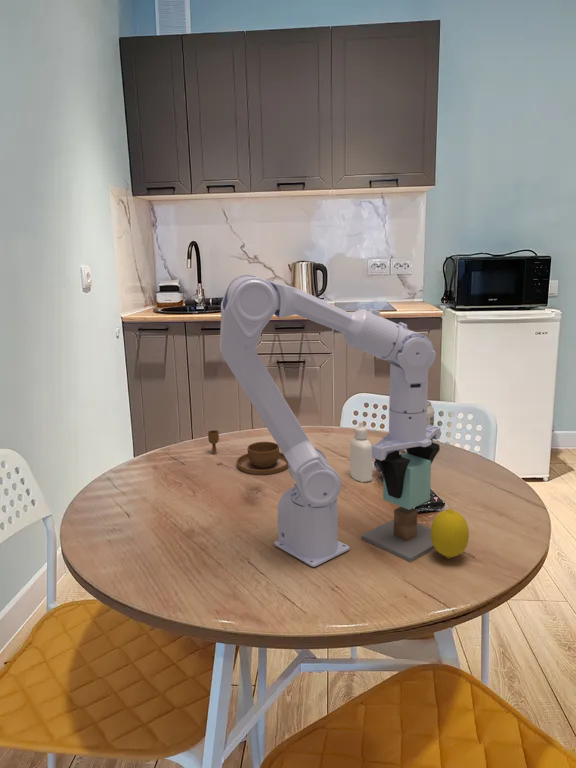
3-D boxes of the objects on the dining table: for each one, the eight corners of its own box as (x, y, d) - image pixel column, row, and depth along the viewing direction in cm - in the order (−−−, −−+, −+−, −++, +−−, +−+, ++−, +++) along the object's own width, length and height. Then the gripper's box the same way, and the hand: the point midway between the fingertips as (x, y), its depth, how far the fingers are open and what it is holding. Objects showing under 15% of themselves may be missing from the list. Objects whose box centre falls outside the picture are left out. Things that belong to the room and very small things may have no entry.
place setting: (236, 484, 119) (234, 457, 118) (204, 455, 136) (203, 431, 135) (310, 469, 127) (310, 443, 125) (272, 443, 144) (271, 420, 143)
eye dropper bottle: (370, 472, 122) (371, 418, 119) (372, 483, 117) (372, 426, 114) (350, 472, 123) (350, 418, 120) (350, 482, 117) (350, 426, 114)
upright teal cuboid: (383, 499, 93) (383, 460, 91) (403, 490, 96) (404, 452, 95) (409, 509, 89) (410, 469, 87) (429, 499, 92) (431, 460, 91)
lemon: (439, 545, 92) (441, 498, 90) (473, 556, 88) (475, 507, 87) (423, 559, 88) (424, 511, 86) (458, 571, 84) (460, 521, 82)
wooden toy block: (393, 535, 94) (394, 509, 93) (403, 530, 96) (404, 505, 95) (406, 541, 92) (407, 515, 91) (416, 535, 94) (417, 510, 93)
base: (361, 538, 95) (361, 535, 94) (400, 519, 101) (400, 516, 101) (410, 562, 87) (410, 558, 87) (449, 539, 93) (449, 536, 93)
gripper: (398, 424, 82) (396, 513, 85) (457, 404, 91) (454, 485, 94) (361, 414, 87) (360, 498, 90) (420, 396, 96) (418, 473, 99)
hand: (406, 491), depth 92 cm, fingers closed on upright teal cuboid, 5 cm apart
